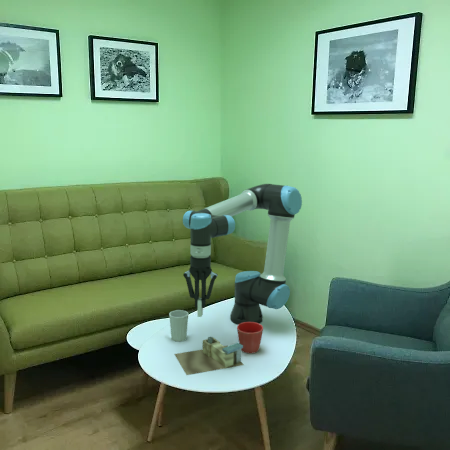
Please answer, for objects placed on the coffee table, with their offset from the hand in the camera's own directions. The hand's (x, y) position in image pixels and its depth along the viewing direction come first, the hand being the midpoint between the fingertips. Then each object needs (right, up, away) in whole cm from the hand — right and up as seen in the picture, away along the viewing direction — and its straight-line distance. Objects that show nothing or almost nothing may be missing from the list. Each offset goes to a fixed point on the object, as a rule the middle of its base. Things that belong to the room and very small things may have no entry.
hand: (200, 315), depth 178 cm
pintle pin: (+4, -17, +7) cm, 19 cm away
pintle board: (+3, -18, +2) cm, 19 cm away
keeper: (+12, -18, -1) cm, 22 cm away
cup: (-10, -15, +20) cm, 27 cm away
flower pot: (+19, -17, +13) cm, 29 cm away
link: (+7, -17, +3) cm, 19 cm away
